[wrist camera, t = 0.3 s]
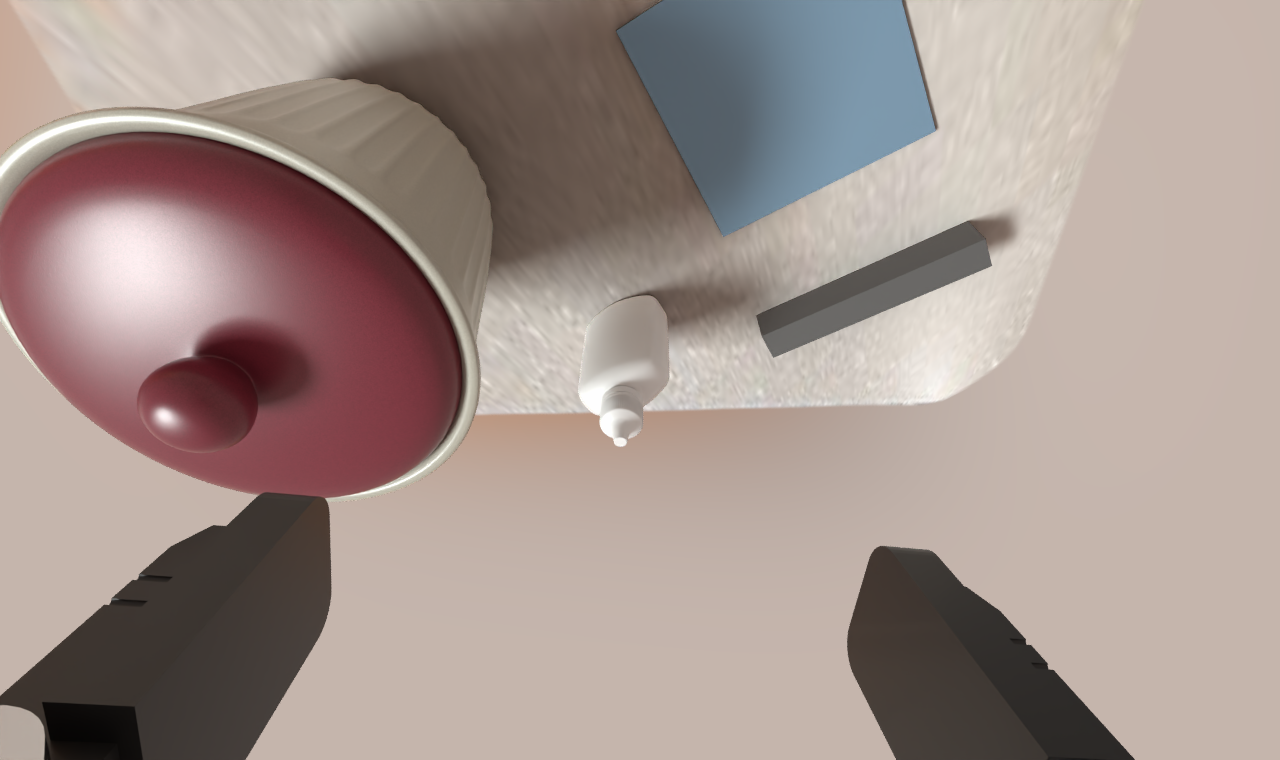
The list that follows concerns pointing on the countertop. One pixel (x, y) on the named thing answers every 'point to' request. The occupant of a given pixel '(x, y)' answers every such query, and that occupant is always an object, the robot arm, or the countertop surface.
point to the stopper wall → (875, 288)
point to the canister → (255, 283)
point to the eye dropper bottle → (624, 364)
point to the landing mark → (778, 93)
